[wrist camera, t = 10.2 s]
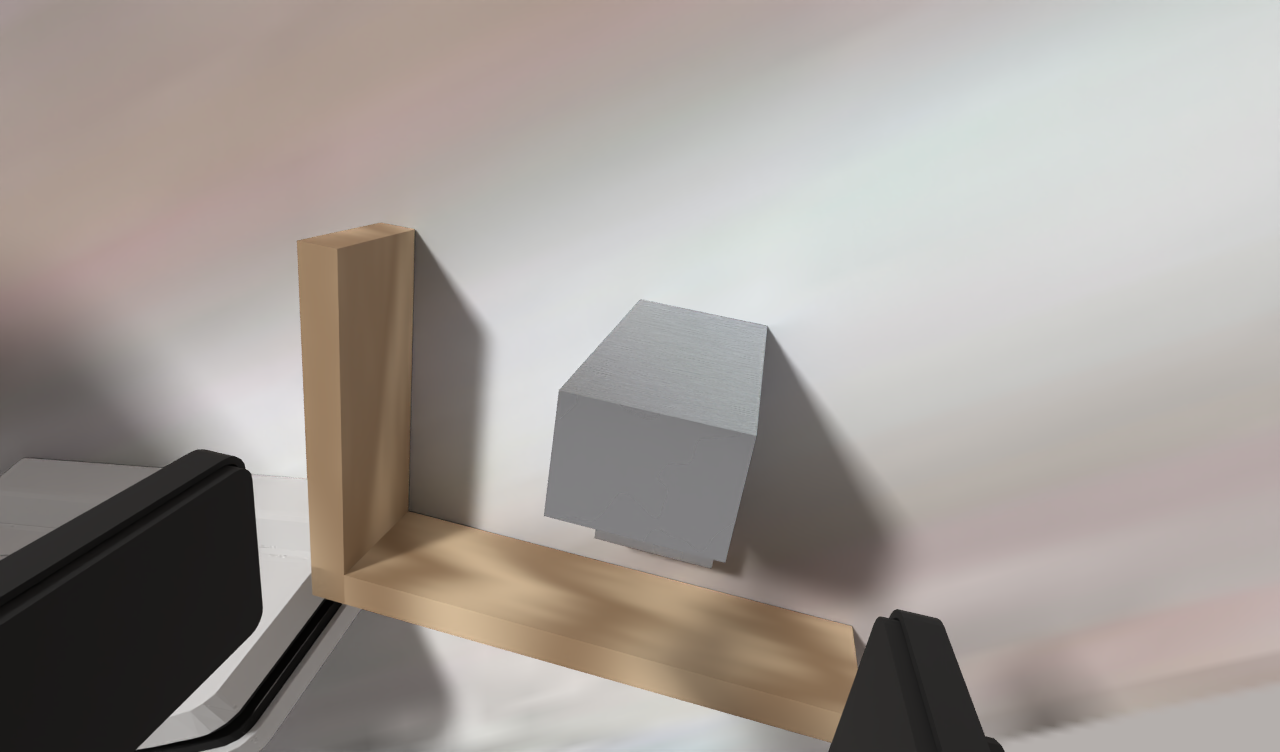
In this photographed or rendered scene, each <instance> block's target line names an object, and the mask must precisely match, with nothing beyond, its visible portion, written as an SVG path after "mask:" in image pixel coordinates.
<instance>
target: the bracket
mask: <svg viewBox="0 0 1280 752" xmlns="http://www.w3.org/2000/svg"><path fill="white" fill-rule="evenodd" d="M766 335H767V326H766V325H761V324H756V323H751V322H747V321H742V320H737V319H732V318H727V317H723V316H718V315H713V314H708V313H703V312H698V311H694V310H689V309H684V308H679V307H674V306H670V305H665V304H660V303H655V302H650V301H645V300H641V299H640V300H639V301H638V302H637V304H636V305H635V306H634V307H633V308H632V309H631V310H630V311H629V312H628V314H627V315H626V316H625V317H624V318H623V319H622V320H621V321H620V323H619V324H618V325H617V326H616V327H615V328H614V329H613V330H612V332H611V333H610V334H609V335H608V336H607V337H606V338H605V339H604V340H603V342H602V343H601V344H600V345H599V346H598V347H597V348H596V349H595V351H594V352H593V353H592V354H591V355H590V356H589V357H588V358H587V360H586V361H585V362H584V363H583V364H582V365H581V366H580V367H579V368H578V370H577V371H576V372H575V373H574V374H573V375H572V376H571V377H570V379H569V380H568V381H567V382H566V383H565V384H564V385H563V386H562V388H561V389H560V390H559V395H558V403H557V411H556V420H555V428H554V436H553V445H552V453H551V461H550V470H549V478H548V487H547V495H546V503H545V512H544V516H547V517H550V518H554V519H558V520H562V521H566V522H570V523H574V524H577V525H581V526H585V527H589V528H593V529H596V531H595V538H596V539H600V540H603V541H607V542H611V543H615V544H619V545H623V546H626V547H630V548H634V549H638V550H642V551H646V552H649V553H653V554H657V555H661V556H665V557H668V558H672V559H676V560H680V561H684V562H688V563H691V564H695V565H699V566H703V567H707V568H712V564H713V560H716V561H720V562H724V563H725V562H726V558H727V554H728V549H729V545H730V541H731V537H732V533H733V529H734V525H735V521H736V517H737V513H738V509H739V505H740V501H741V497H742V493H743V489H744V485H745V481H746V477H747V473H748V469H749V465H750V461H751V457H752V453H753V449H754V445H755V441H756V437H757V427H758V417H759V407H760V396H761V386H762V376H763V366H764V356H765V345H766Z"/></svg>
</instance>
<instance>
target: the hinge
mask: <svg viewBox="0 0 1280 752" xmlns="http://www.w3.org/2000/svg"><path fill="white" fill-rule="evenodd" d="M160 469H162V468H156V467H142V466H128V465H115V464H101V463H88V462H74V461H61V460H47V459H33V458H22V459H21V460H20V461H19V462H17V463H16V464H15V465H14V466H13V467H11V468H10V469H9V470H8V471H7V472H5V473H4V474H3V475H2V476H1V477H0V560H2V559H3V558H5V557H7V556H9V555H10V554H12V553H14V552H16V551H17V550H19V549H21V548H23V547H25V546H26V545H28V544H30V543H32V542H33V541H35V540H37V539H39V538H40V537H42V536H44V535H46V534H47V533H49V532H51V531H53V530H54V529H56V528H58V527H60V526H62V525H63V524H65V523H67V522H69V521H70V520H72V519H74V518H76V517H77V516H79V515H81V514H83V513H84V512H86V511H88V510H90V509H92V508H93V507H95V506H97V505H99V504H100V503H102V502H104V501H106V500H107V499H109V498H111V497H113V496H114V495H116V494H118V493H120V492H121V491H123V490H125V489H127V488H129V487H130V486H132V485H134V484H136V483H137V482H139V481H141V480H143V479H144V478H146V477H148V476H150V475H151V474H153V473H155V472H157V471H158V470H160ZM252 479H253V491H254V503H255V515H256V528H257V540H258V552H259V565H260V577H261V589H262V601H263V613H262V617H261V620H260V623H259V625H258V626H257V628H256V630H255V631H254V632H253V634H252V635H251V636H250V637H249V638H248V639H247V640H246V641H245V642H244V643H243V644H242V645H241V646H240V647H239V648H238V649H237V650H236V651H235V652H234V653H233V654H232V655H231V656H230V657H229V658H228V659H227V660H226V661H225V662H224V663H223V664H222V665H221V666H220V667H219V668H218V669H217V670H216V671H215V672H214V673H213V674H212V675H211V676H210V677H209V678H208V679H207V680H206V681H205V682H204V683H203V684H202V685H201V686H200V687H199V688H198V689H197V690H196V691H195V692H194V693H193V694H192V695H191V696H190V697H189V698H188V699H187V700H186V701H185V702H184V703H183V704H182V705H181V706H179V707H178V708H177V709H176V710H175V711H174V712H173V713H172V714H171V715H170V716H169V717H168V718H167V719H166V720H165V721H164V722H163V723H162V724H161V725H160V726H159V727H158V728H157V729H156V730H155V731H154V732H153V733H152V734H151V735H150V736H149V737H148V738H147V739H146V740H145V741H144V742H143V743H142V744H141V745H140V746H139V747H138V748H137V749H136V750H135V751H134V752H259V751H260V750H261V749H262V748H263V747H264V746H266V745H267V743H268V742H269V741H270V740H271V739H272V737H273V736H274V734H275V733H276V731H277V730H278V728H279V727H280V726H281V724H282V723H283V721H284V720H285V718H286V717H287V715H288V714H289V713H290V711H291V710H292V708H293V707H294V705H295V704H296V703H297V701H298V700H299V698H300V697H301V695H302V694H303V692H304V691H305V690H306V688H307V687H308V685H309V684H310V682H311V681H312V680H313V678H314V677H315V675H316V674H317V672H318V671H319V669H320V668H321V667H322V665H323V664H324V662H325V661H326V659H327V658H328V656H329V655H330V654H331V652H332V651H333V649H334V648H335V646H336V645H337V644H338V642H339V641H340V639H341V638H342V636H343V635H344V633H345V632H346V631H347V629H348V628H349V626H350V625H351V623H352V622H353V620H354V619H355V618H356V616H357V615H358V613H359V612H360V610H361V609H360V608H356V607H353V606H349V605H346V604H342V603H339V602H335V601H332V600H328V599H325V598H321V597H318V596H314V595H312V575H311V551H310V528H309V505H308V482H307V479H305V478H291V477H278V476H264V475H252Z"/></svg>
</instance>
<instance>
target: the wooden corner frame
mask: <svg viewBox="0 0 1280 752" xmlns="http://www.w3.org/2000/svg"><path fill="white" fill-rule="evenodd" d="M414 241H415V229H410V228H405V227H400V226H395V225H390V224H385V223H377V224H373V225H368V226H363V227H359V228H354V229H349V230H345V231H340V232H335V233H331V234H326V235H321V236H317V237H312V238H307V239H302V240H298V241H297V252H298V275H299V298H300V321H301V344H302V367H303V390H304V413H305V436H306V459H307V482H308V505H309V528H310V551H311V575H312V595H314V596H318V597H321V598H325V599H328V600H332V601H335V602H339V603H342V604H346V605H349V606H353V607H356V608H360V609H363V610H367V611H370V612H374V613H378V614H381V615H385V616H388V617H392V618H395V619H399V620H402V621H406V622H409V623H413V624H416V625H420V626H423V627H427V628H430V629H434V630H437V631H441V632H444V633H448V634H451V635H455V636H458V637H462V638H465V639H469V640H472V641H476V642H479V643H483V644H486V645H490V646H493V647H497V648H500V649H504V650H507V651H511V652H514V653H518V654H521V655H525V656H528V657H532V658H535V659H539V660H543V661H546V662H550V663H553V664H557V665H560V666H564V667H567V668H571V669H574V670H578V671H581V672H585V673H588V674H592V675H595V676H599V677H602V678H606V679H609V680H613V681H616V682H620V683H623V684H627V685H630V686H634V687H637V688H641V689H644V690H648V691H651V692H655V693H658V694H662V695H665V696H669V697H672V698H676V699H679V700H683V701H686V702H690V703H693V704H697V705H700V706H704V707H708V708H711V709H715V710H718V711H722V712H725V713H729V714H732V715H736V716H739V717H743V718H746V719H750V720H753V721H757V722H760V723H764V724H767V725H771V726H774V727H778V728H781V729H785V730H788V731H792V732H795V733H799V734H802V735H806V736H809V737H813V738H816V739H820V740H823V741H827V742H830V743H832V740H833V737H834V735H835V732H836V729H837V726H838V723H839V721H840V718H841V715H842V712H843V709H844V707H845V704H846V701H847V698H848V695H849V693H850V690H851V687H852V684H853V682H854V679H855V676H856V673H857V670H858V667H857V659H856V652H855V644H854V637H853V630H852V626H849V625H845V624H841V623H837V622H833V621H829V620H826V619H822V618H818V617H814V616H810V615H806V614H802V613H799V612H795V611H791V610H787V609H783V608H779V607H775V606H772V605H768V604H764V603H760V602H756V601H752V600H749V599H745V598H741V597H737V596H733V595H729V594H725V593H722V592H718V591H714V590H710V589H706V588H702V587H698V586H695V585H691V584H687V583H683V582H679V581H675V580H671V579H668V578H664V577H660V576H656V575H652V574H648V573H645V572H641V571H637V570H633V569H629V568H625V567H621V566H618V565H614V564H610V563H606V562H602V561H598V560H594V559H591V558H587V557H583V556H579V555H575V554H571V553H568V552H564V551H560V550H556V549H552V548H548V547H544V546H541V545H537V544H533V543H529V542H525V541H521V540H517V539H514V538H510V537H506V536H502V535H498V534H494V533H490V532H487V531H483V530H479V529H475V528H471V527H467V526H464V525H460V524H456V523H452V522H448V521H444V520H440V519H437V518H433V517H429V516H425V515H421V514H417V513H413V512H410V511H408V508H409V463H410V419H411V374H412V330H413V285H414Z"/></svg>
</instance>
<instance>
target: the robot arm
mask: <svg viewBox="0 0 1280 752" xmlns="http://www.w3.org/2000/svg"><path fill="white" fill-rule="evenodd" d="M262 613H263V601H262V589H261V577H260V565H259V552H258V540H257V528H256V515H255V503H254V491H253V479H252V475H251V473H250V472H249V471H248V470H246V469H245V464H244V463H243V461H242V460H241V459H239V458H237V457H235V456H230V455H226V454H222V453H217V452H213V451H209V450H195V451H193V452H190V453H188V454H187V455H185V456H183V457H181V458H180V459H178V460H176V461H174V462H173V463H171V464H169V465H167V466H166V467H164V468H162V469H160V470H158V471H157V472H155V473H153V474H151V475H150V476H148V477H146V478H144V479H143V480H141V481H139V482H137V483H136V484H134V485H132V486H130V487H129V488H127V489H125V490H123V491H121V492H120V493H118V494H116V495H114V496H113V497H111V498H109V499H107V500H106V501H104V502H102V503H100V504H99V505H97V506H95V507H93V508H92V509H90V510H88V511H86V512H84V513H83V514H81V515H79V516H77V517H76V518H74V519H72V520H70V521H69V522H67V523H65V524H63V525H62V526H60V527H58V528H56V529H54V530H53V531H51V532H49V533H47V534H46V535H44V536H42V537H40V538H39V539H37V540H35V541H33V542H32V543H30V544H28V545H26V546H25V547H23V548H21V549H19V550H17V551H16V552H14V553H12V554H10V555H9V556H7V557H5V558H3V559H2V560H0V752H134V751H135V750H136V749H137V748H138V747H139V746H140V745H141V744H142V743H143V742H144V741H145V740H146V739H147V738H148V737H149V736H150V735H151V734H152V733H153V732H154V731H155V730H156V729H157V728H158V727H159V726H160V725H161V724H162V723H163V722H164V721H165V720H166V719H167V718H168V717H169V716H170V715H171V714H172V713H173V712H174V711H175V710H176V709H177V708H178V707H179V706H181V705H182V704H183V703H184V702H185V701H186V700H187V699H188V698H189V697H190V696H191V695H192V694H193V693H194V692H195V691H196V690H197V689H198V688H199V687H200V686H201V685H202V684H203V683H204V682H205V681H206V680H207V679H208V678H209V677H210V676H211V675H212V674H213V673H214V672H215V671H216V670H217V669H218V668H219V667H220V666H221V665H222V664H223V663H224V662H225V661H226V660H227V659H228V658H229V657H230V656H231V655H232V654H233V653H234V652H235V651H236V650H237V649H238V648H239V647H240V646H241V645H242V644H243V643H244V642H245V641H246V640H247V639H248V638H249V637H250V636H251V635H252V634H253V632H254V631H255V630H256V628H257V626H258V625H259V623H260V620H261V617H262ZM828 752H1004V749H1003V748H1002V746H1001V745H1000V744H999V743H998V742H997V741H996V740H995V739H994V738H990V737H986V736H985V735H984V732H983V729H982V727H981V724H980V721H979V719H978V716H977V713H976V711H975V708H974V705H973V703H972V700H971V697H970V694H969V692H968V689H967V686H966V684H965V681H964V678H963V676H962V673H961V670H960V668H959V665H958V662H957V660H956V657H955V654H954V652H953V649H952V646H951V643H950V641H949V638H948V635H947V633H946V630H945V627H944V625H943V623H942V622H941V621H940V620H939V619H938V618H933V617H929V616H924V615H920V614H916V613H911V612H907V611H903V610H898V609H897V610H894V611H893V612H892V613H891V615H890V617H889V618H885V617H878V618H877V619H876V621H875V623H874V626H873V628H872V631H871V634H870V637H869V640H868V642H867V645H866V648H865V651H864V654H863V656H862V659H861V662H860V665H859V668H858V670H857V673H856V676H855V679H854V682H853V684H852V687H851V690H850V693H849V695H848V698H847V701H846V704H845V707H844V709H843V712H842V715H841V718H840V721H839V723H838V726H837V729H836V732H835V735H834V737H833V740H832V743H831V746H830V749H829V751H828Z"/></svg>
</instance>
